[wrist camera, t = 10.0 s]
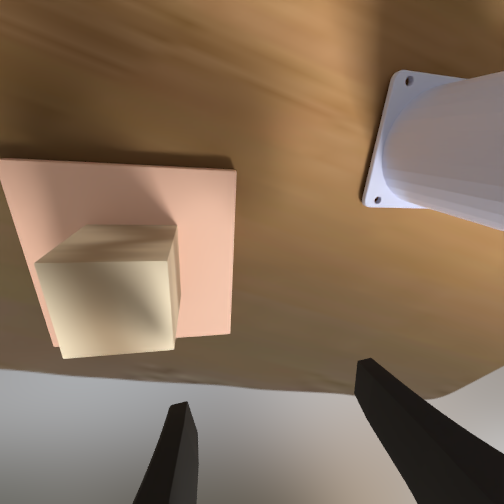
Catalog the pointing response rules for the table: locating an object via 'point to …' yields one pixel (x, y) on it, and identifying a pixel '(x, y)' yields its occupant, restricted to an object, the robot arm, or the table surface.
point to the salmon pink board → (133, 222)
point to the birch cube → (113, 289)
